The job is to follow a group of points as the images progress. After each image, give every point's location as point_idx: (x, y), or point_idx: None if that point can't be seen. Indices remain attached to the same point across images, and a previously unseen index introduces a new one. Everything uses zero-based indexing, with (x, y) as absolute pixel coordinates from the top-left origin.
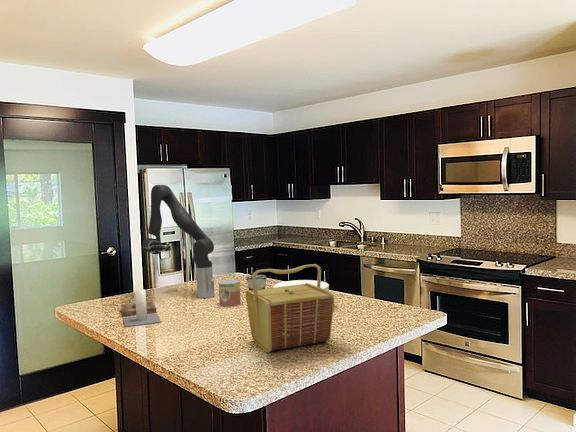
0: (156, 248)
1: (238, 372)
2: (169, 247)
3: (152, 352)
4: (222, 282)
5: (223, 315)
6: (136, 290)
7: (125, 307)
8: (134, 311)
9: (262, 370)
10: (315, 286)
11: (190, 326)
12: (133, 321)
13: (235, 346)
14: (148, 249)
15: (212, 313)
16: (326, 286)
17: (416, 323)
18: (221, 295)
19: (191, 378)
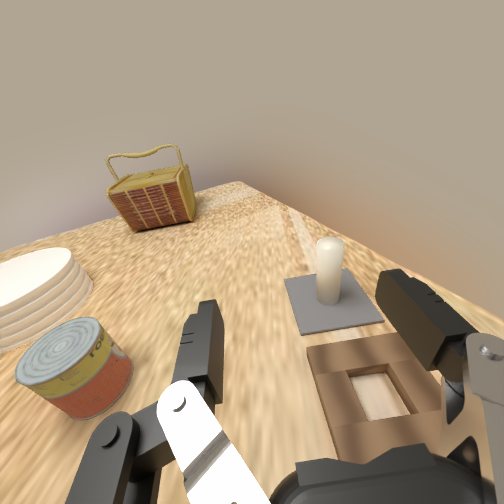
0: (370, 463)
1: (226, 194)
2: (133, 419)
3: (283, 211)
4: (79, 347)
5: (172, 295)
6: (340, 244)
7: (429, 390)
8: (367, 338)
9: (212, 195)
10: (117, 181)
11: (238, 259)
12: (341, 288)
13: (211, 216)
14: (412, 279)
15: (183, 312)
16: (1, 263)
17: (49, 239)
18: (118, 350)
19: (254, 190)
